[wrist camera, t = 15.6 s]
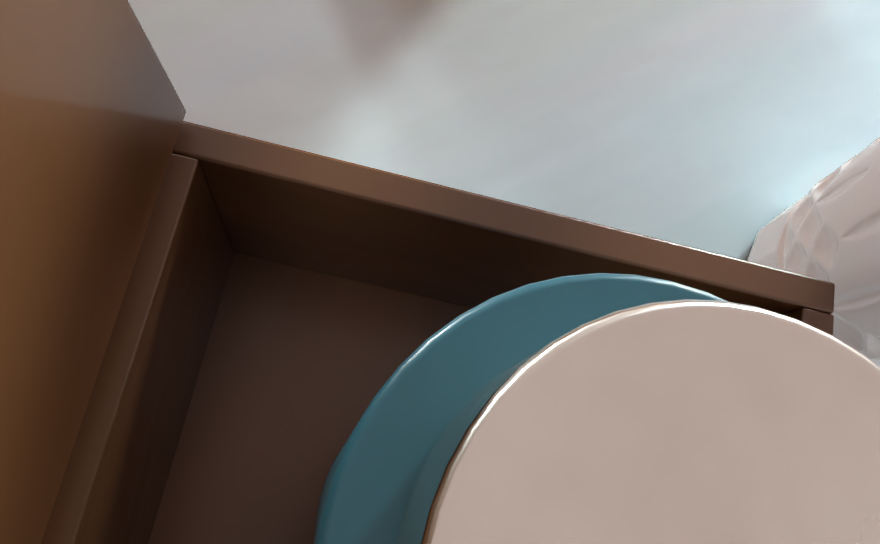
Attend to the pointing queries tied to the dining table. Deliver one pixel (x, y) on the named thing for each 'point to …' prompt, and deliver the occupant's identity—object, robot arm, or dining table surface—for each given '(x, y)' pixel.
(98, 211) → the chest lid
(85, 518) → the chest
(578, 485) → the spray can
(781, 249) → the white cup
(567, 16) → the dining table surface
